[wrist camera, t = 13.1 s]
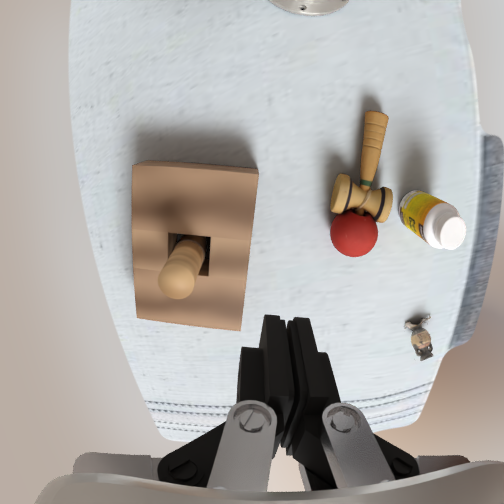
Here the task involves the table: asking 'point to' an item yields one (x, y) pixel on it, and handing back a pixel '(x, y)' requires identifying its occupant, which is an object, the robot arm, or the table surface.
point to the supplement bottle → (432, 220)
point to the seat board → (193, 223)
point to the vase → (420, 340)
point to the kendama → (361, 196)
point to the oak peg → (183, 267)
